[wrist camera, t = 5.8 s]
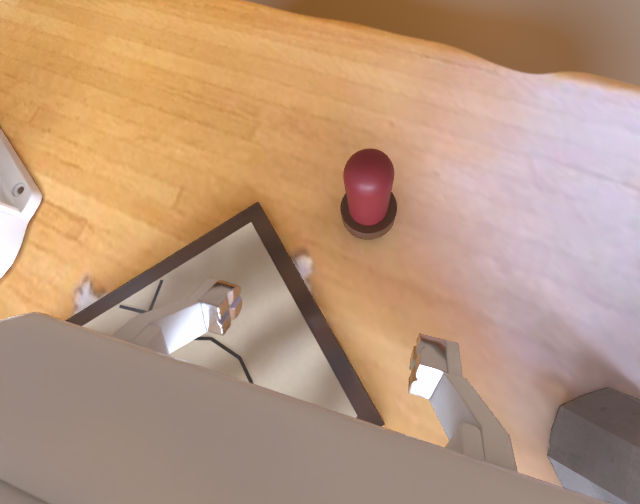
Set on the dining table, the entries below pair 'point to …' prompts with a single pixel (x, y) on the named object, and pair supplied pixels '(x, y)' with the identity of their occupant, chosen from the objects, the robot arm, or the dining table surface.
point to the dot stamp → (368, 194)
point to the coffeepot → (599, 446)
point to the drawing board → (247, 316)
